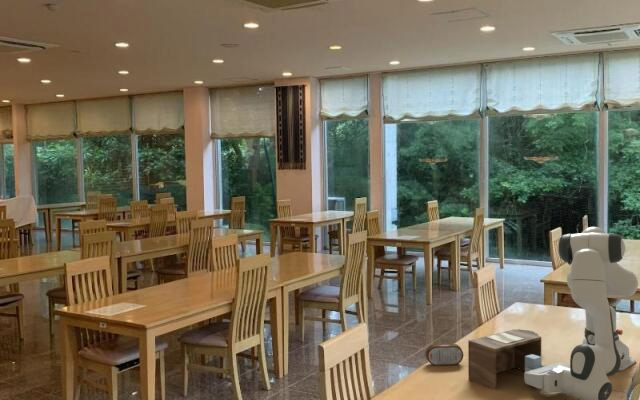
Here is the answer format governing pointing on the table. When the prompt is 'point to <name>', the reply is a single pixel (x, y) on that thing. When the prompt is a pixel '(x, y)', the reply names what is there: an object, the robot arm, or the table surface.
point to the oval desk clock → (444, 354)
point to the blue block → (532, 362)
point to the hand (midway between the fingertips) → (531, 368)
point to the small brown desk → (499, 354)
